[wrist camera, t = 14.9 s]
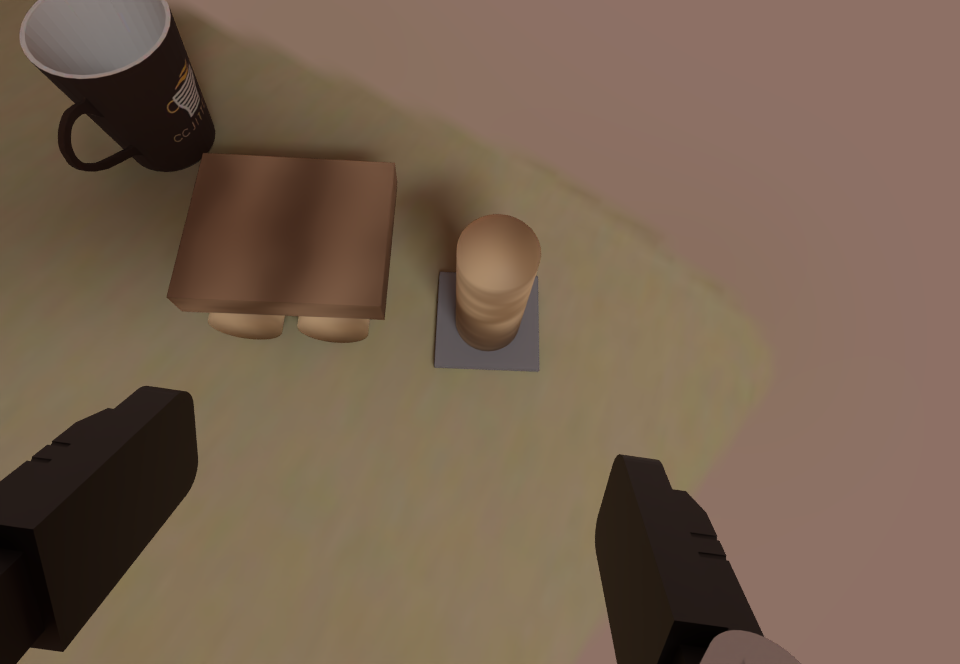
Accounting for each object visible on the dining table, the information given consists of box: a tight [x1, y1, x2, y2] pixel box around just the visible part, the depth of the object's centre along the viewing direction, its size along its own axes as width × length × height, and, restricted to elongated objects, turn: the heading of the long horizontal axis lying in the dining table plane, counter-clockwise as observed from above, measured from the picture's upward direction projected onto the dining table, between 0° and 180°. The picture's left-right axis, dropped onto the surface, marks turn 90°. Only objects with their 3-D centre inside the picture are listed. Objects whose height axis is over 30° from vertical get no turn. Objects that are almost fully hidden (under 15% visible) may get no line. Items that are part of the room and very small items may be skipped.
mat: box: [434, 272, 539, 372], centre depth 39 cm, size 7×7×1 cm
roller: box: [456, 214, 541, 351], centre depth 34 cm, size 4×4×10 cm
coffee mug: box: [20, 0, 215, 172], centre depth 38 cm, size 12×9×10 cm
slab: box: [167, 153, 397, 343], centre depth 37 cm, size 12×10×6 cm
